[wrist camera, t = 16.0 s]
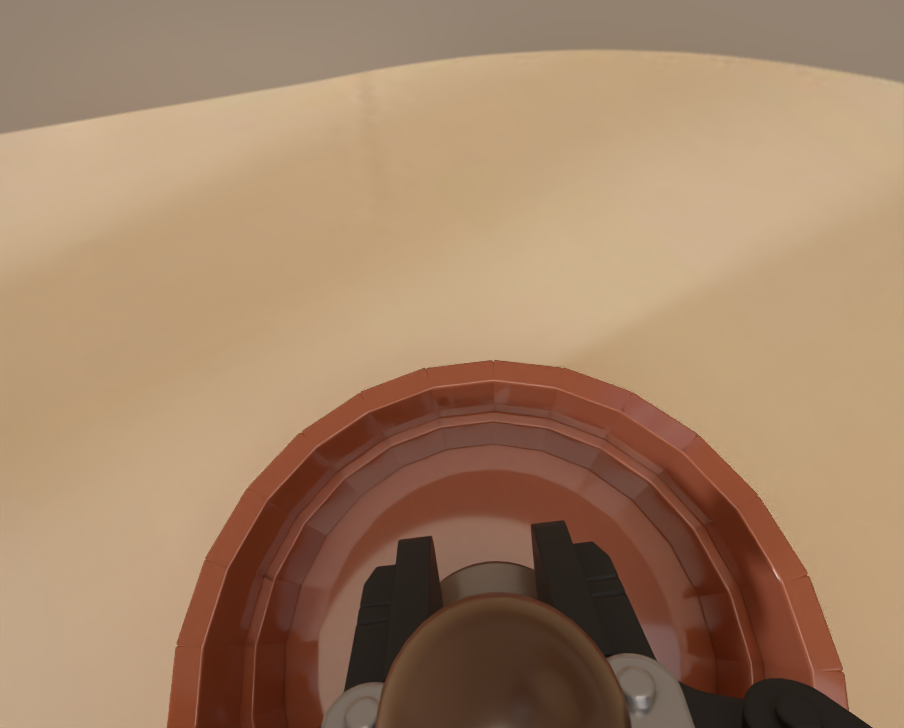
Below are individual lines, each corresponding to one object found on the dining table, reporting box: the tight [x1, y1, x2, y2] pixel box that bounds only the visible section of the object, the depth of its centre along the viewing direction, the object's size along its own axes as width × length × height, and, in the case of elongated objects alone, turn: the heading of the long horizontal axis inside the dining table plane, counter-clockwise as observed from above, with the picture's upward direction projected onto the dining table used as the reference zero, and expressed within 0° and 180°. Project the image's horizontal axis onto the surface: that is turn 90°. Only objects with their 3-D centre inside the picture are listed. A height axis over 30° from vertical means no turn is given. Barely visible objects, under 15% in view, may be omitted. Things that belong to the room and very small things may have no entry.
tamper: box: [375, 561, 632, 728], centre depth 11 cm, size 5×5×16 cm
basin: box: [167, 360, 849, 728], centre depth 16 cm, size 17×17×6 cm
